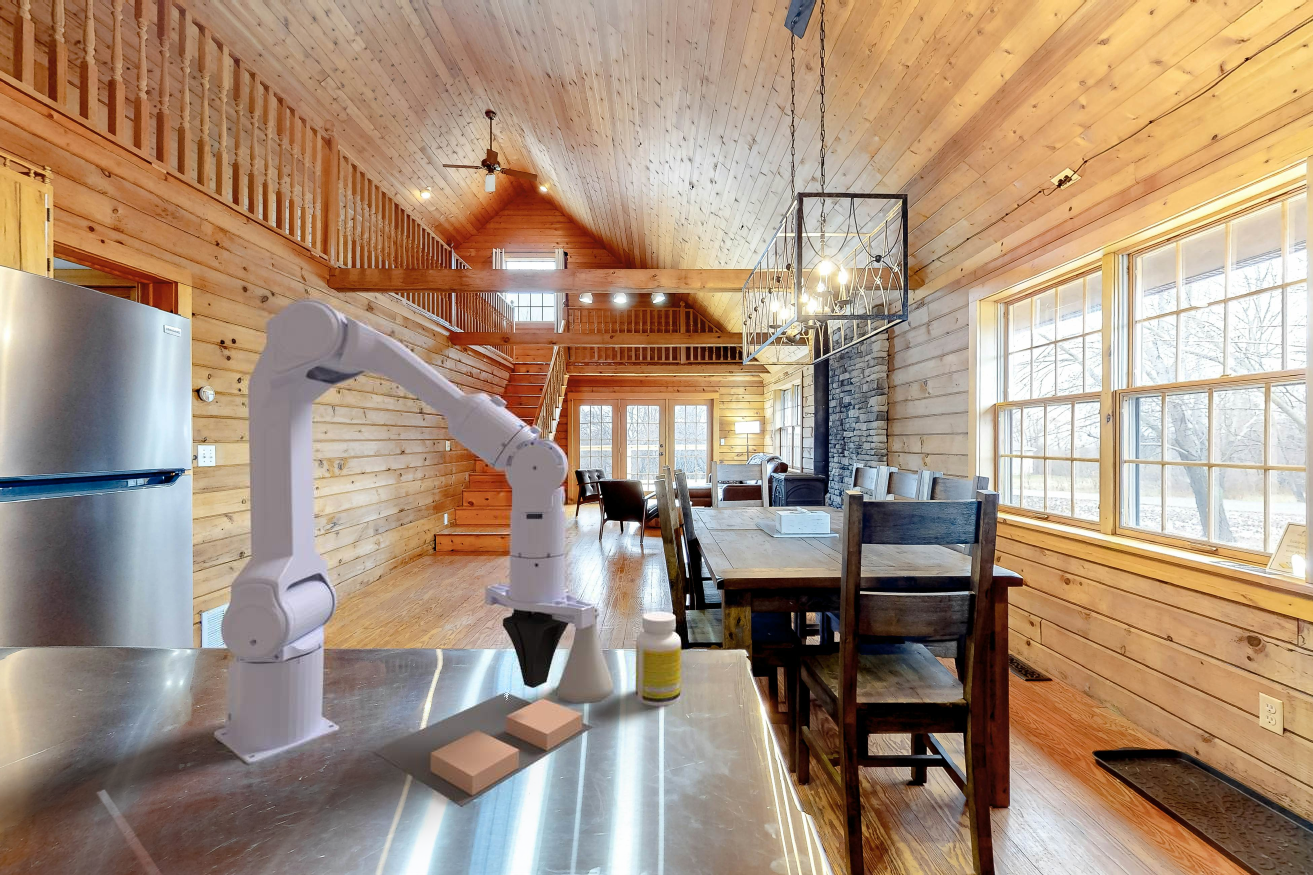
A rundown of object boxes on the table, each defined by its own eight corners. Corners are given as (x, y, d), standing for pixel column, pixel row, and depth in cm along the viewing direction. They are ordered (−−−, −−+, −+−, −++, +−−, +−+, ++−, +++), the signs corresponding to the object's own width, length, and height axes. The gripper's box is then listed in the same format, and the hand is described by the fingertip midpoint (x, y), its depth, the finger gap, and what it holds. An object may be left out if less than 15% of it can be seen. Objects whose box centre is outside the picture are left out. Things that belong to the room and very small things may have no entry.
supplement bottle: (689, 701, 65) (690, 617, 65) (651, 713, 62) (652, 625, 62) (663, 685, 69) (664, 607, 70) (626, 695, 66) (627, 613, 66)
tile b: (506, 716, 56) (547, 733, 53) (542, 698, 61) (582, 713, 57) (505, 732, 56) (547, 751, 53) (541, 714, 60) (582, 730, 57)
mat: (372, 755, 53) (372, 750, 53) (505, 695, 66) (505, 692, 66) (462, 810, 45) (462, 805, 45) (592, 730, 58) (593, 726, 58)
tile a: (430, 752, 49) (472, 775, 46) (477, 730, 54) (519, 749, 50) (430, 771, 49) (472, 796, 46) (477, 747, 54) (518, 768, 50)
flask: (605, 709, 63) (606, 621, 63) (545, 703, 64) (547, 617, 64) (621, 683, 70) (622, 604, 70) (567, 678, 71) (568, 600, 71)
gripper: (615, 555, 57) (613, 687, 57) (520, 541, 65) (518, 656, 65) (567, 566, 51) (565, 713, 51) (470, 549, 60) (467, 675, 59)
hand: (535, 683), depth 58 cm, fingers closed
